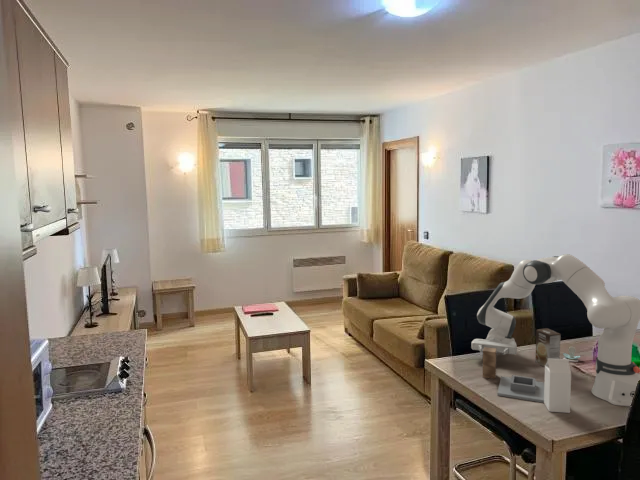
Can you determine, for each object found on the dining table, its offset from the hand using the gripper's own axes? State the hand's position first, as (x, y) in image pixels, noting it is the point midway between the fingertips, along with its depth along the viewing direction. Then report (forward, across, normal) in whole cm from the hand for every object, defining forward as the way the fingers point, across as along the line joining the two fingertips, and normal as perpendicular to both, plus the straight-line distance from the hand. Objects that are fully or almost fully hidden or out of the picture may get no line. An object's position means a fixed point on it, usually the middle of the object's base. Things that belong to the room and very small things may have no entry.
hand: (492, 351), depth 215 cm
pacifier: (-23, +33, +8) cm, 41 cm away
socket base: (+22, +14, +7) cm, 27 cm away
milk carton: (+34, +26, +8) cm, 43 cm away
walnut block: (+12, 0, +7) cm, 14 cm away
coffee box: (-12, +23, +7) cm, 27 cm away
